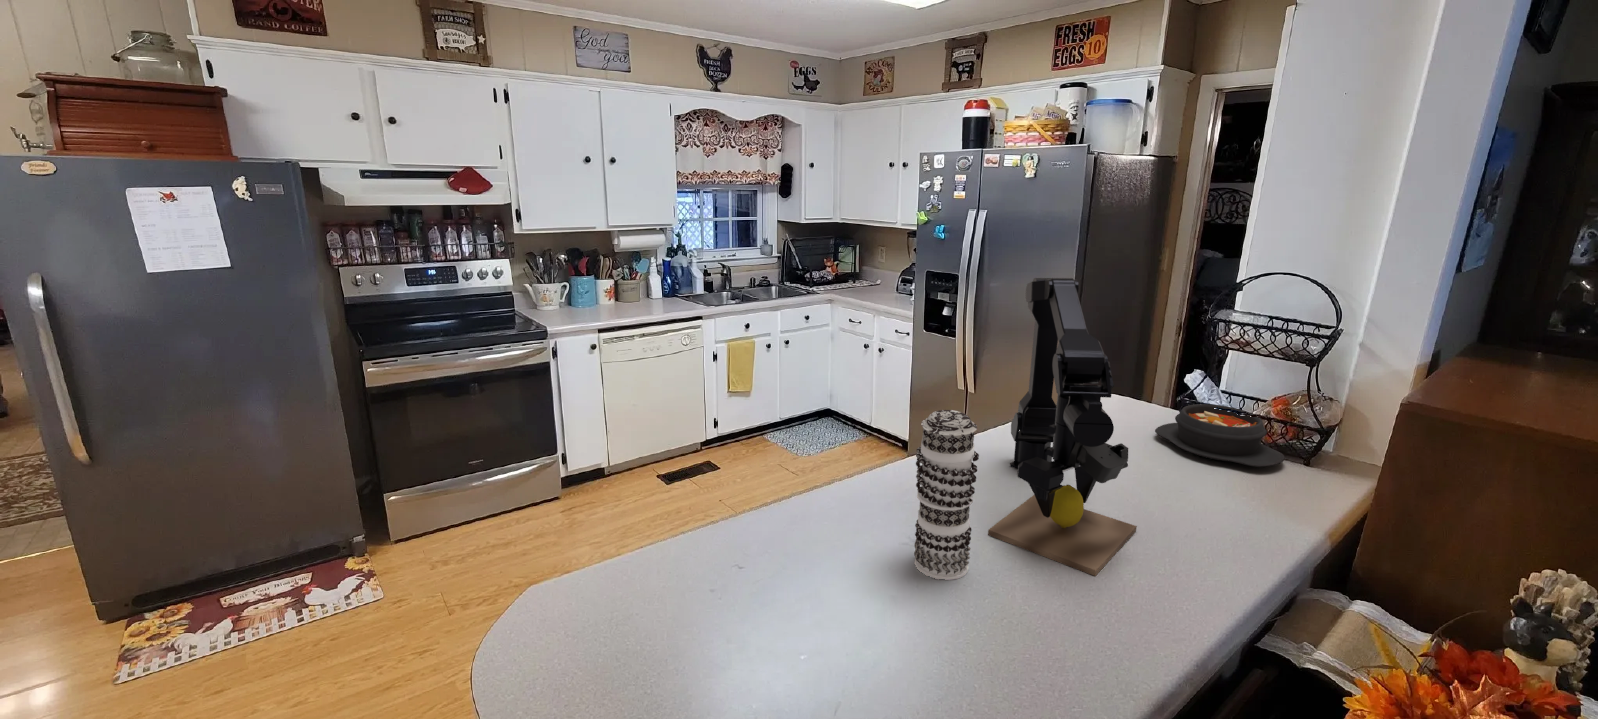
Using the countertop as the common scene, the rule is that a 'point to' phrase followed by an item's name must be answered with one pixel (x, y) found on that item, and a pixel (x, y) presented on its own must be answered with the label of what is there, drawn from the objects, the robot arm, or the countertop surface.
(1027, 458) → the robot arm
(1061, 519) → the lemon
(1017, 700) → the countertop surface
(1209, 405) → the casserole
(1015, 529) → the walnut board
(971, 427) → the decorative candle
